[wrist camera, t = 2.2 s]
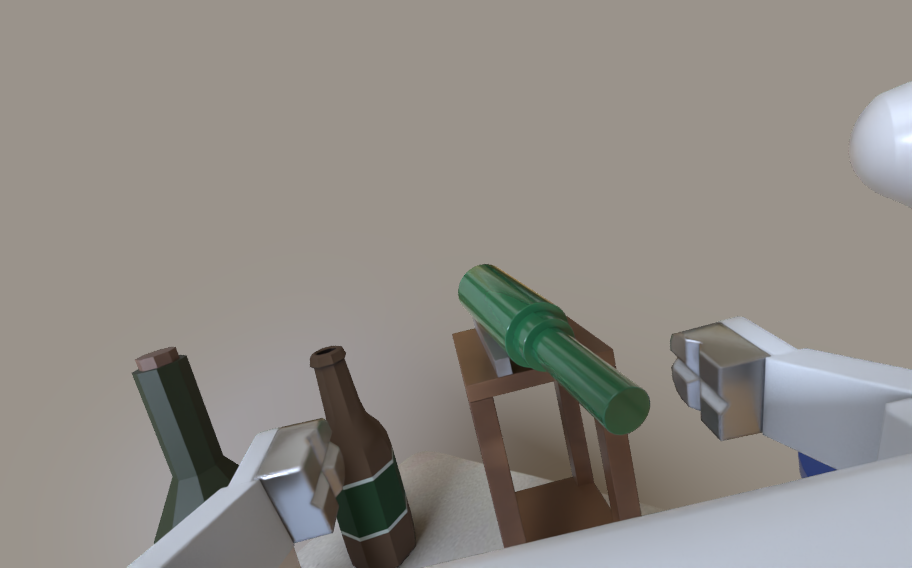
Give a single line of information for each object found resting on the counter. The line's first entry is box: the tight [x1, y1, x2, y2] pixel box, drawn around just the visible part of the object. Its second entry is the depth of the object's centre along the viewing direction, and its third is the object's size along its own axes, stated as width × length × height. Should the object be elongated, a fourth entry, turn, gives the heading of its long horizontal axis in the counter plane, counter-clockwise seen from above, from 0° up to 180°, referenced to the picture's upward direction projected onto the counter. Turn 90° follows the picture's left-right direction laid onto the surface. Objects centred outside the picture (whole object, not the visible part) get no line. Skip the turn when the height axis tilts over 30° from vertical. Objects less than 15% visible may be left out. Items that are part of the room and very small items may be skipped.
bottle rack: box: [452, 316, 641, 548], centre depth 36 cm, size 10×12×25 cm
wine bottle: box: [132, 347, 301, 568], centre depth 33 cm, size 8×8×30 cm
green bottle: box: [458, 264, 650, 435], centre depth 27 cm, size 18×4×4 cm, turn 15°
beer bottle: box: [310, 346, 416, 568], centre depth 46 cm, size 8×8×24 cm
